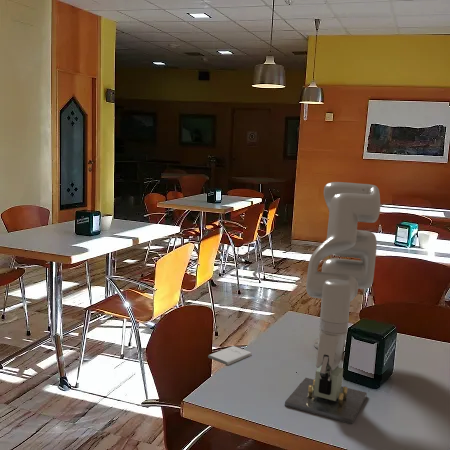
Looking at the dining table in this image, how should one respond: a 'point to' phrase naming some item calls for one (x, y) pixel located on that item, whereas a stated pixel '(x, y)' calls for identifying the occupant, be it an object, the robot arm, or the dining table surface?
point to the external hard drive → (229, 355)
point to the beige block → (335, 386)
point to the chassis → (327, 402)
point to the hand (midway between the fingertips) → (327, 388)
